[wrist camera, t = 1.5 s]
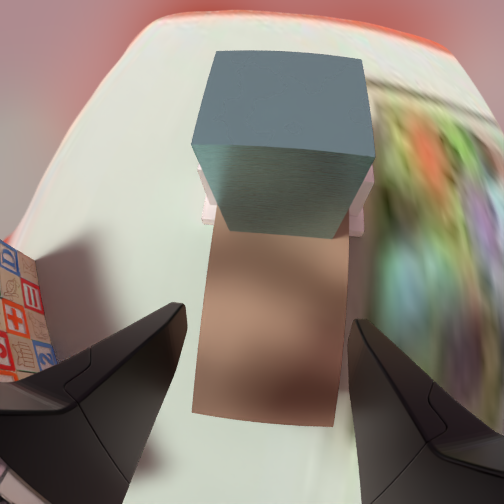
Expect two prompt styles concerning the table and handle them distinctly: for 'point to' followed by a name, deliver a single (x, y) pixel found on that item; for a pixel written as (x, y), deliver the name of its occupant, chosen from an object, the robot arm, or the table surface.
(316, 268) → the beam
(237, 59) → the grey rectangular block
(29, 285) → the stack of blocks
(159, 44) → the table surface
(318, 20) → the table surface
